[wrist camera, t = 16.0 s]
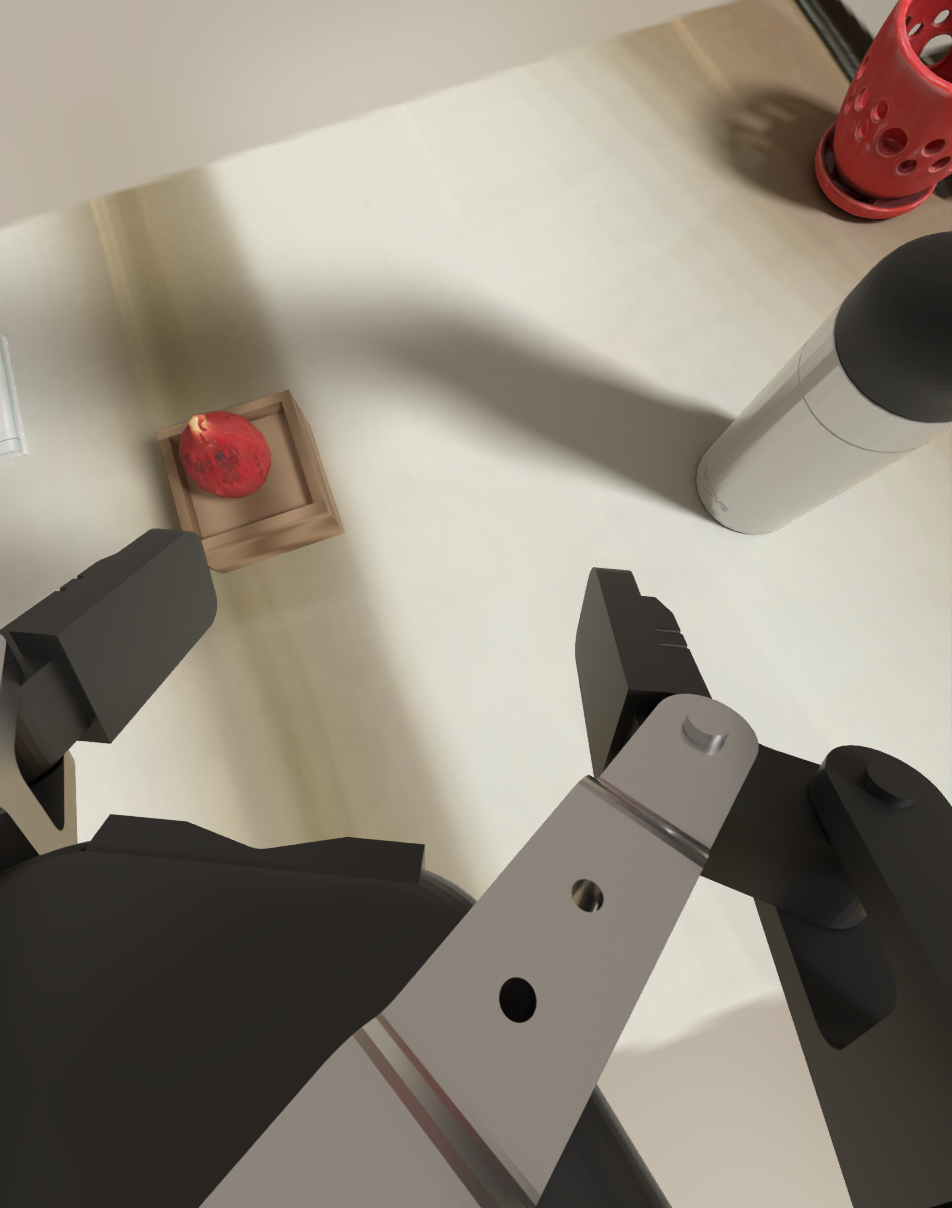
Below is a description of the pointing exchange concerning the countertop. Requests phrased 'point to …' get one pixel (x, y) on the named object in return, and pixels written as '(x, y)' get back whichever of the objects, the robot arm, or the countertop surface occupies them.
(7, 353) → the hard drive
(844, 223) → the countertop surface
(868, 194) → the plant pot
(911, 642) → the countertop surface
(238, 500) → the wooden tray
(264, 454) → the onion
